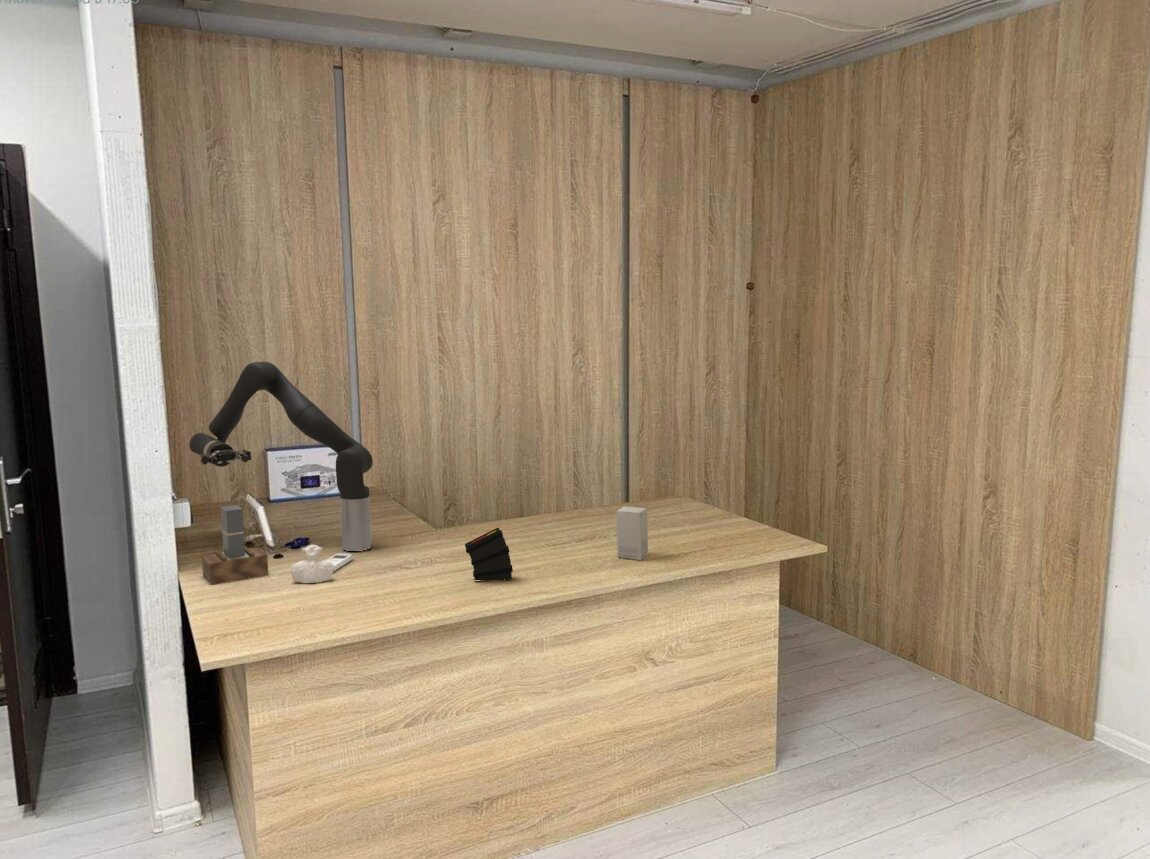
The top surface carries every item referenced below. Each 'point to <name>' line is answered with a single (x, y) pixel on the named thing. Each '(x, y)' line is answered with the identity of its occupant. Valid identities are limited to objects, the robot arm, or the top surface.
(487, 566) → the magazine
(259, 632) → the top surface
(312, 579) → the tied plastic bag
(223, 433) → the robot arm
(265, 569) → the stand
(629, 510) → the skincare box
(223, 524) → the stacked grey cubes
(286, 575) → the top surface
